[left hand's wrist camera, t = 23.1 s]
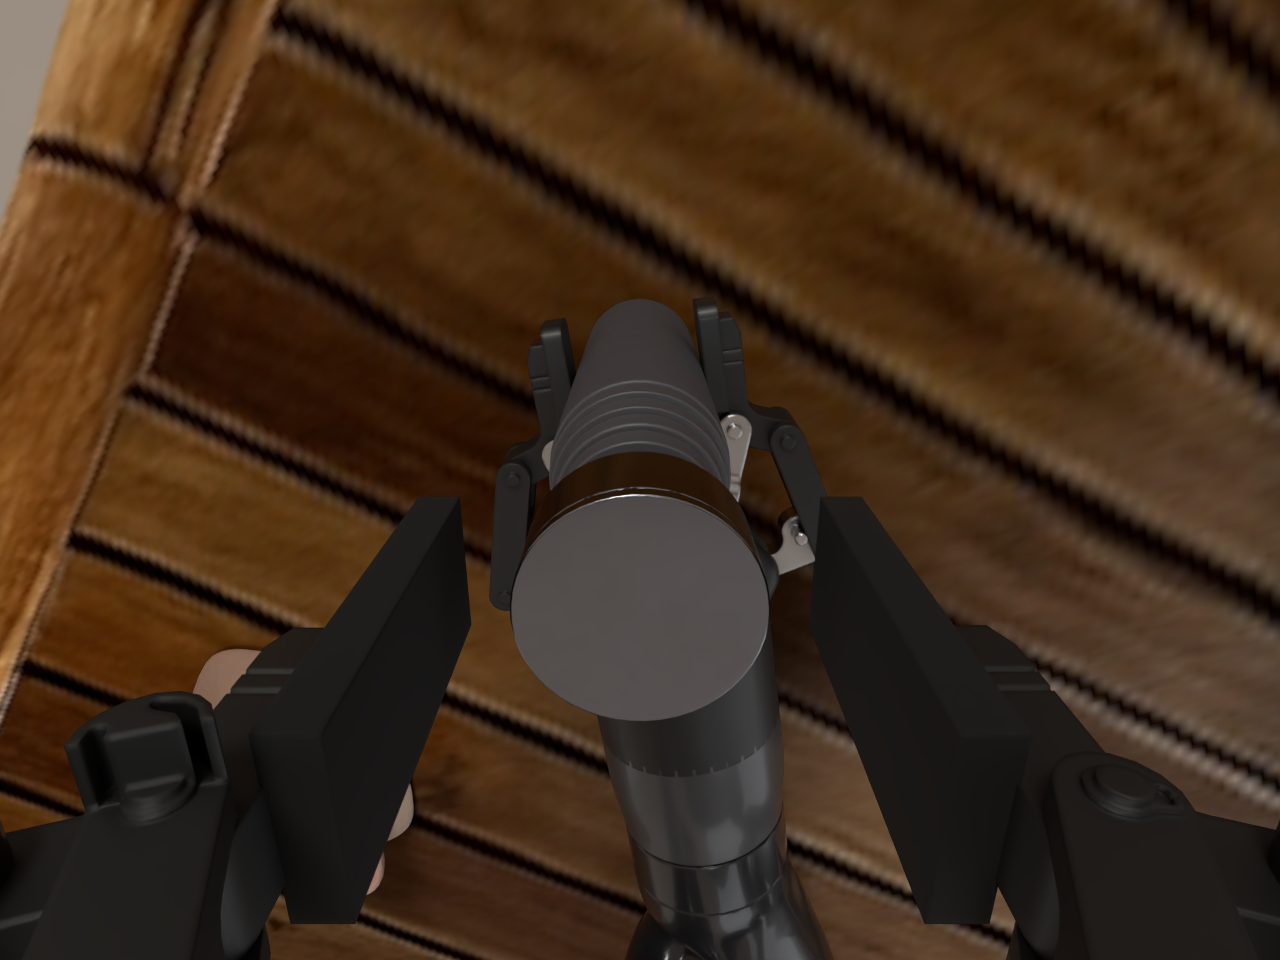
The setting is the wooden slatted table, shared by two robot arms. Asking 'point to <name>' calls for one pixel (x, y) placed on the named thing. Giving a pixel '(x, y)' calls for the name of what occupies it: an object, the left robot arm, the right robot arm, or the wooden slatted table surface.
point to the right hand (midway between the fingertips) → (627, 314)
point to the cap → (640, 589)
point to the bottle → (640, 395)
